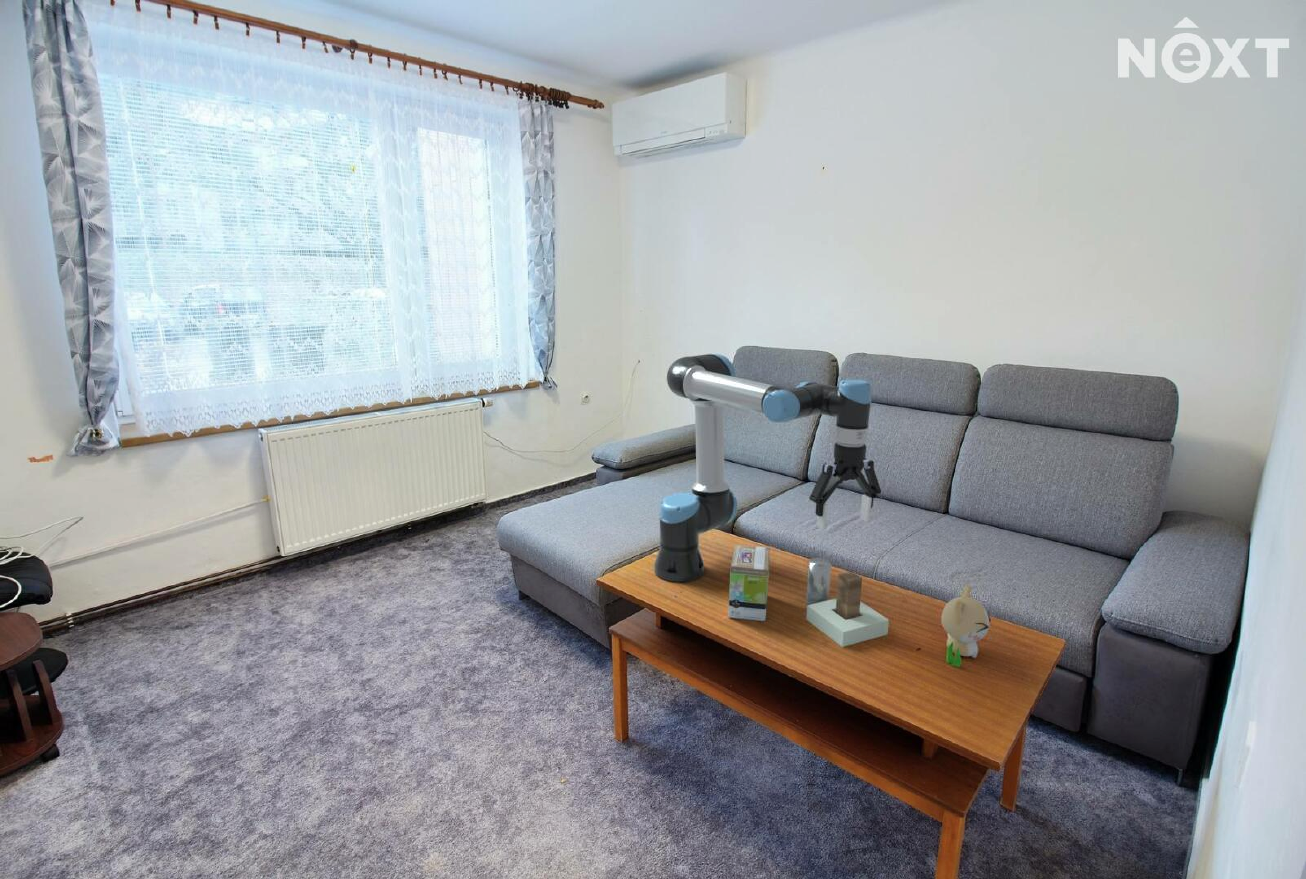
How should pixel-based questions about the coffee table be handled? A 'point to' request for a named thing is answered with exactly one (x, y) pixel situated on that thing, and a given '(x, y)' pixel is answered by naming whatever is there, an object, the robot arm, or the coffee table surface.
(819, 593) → the round peg
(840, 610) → the square peg
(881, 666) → the coffee table surface
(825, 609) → the socket block
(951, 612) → the kitten
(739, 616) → the tea box
